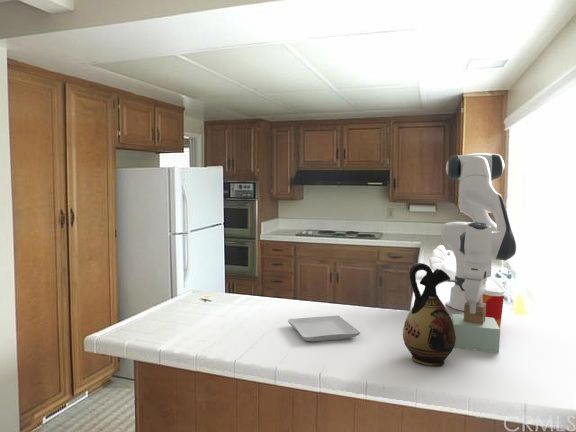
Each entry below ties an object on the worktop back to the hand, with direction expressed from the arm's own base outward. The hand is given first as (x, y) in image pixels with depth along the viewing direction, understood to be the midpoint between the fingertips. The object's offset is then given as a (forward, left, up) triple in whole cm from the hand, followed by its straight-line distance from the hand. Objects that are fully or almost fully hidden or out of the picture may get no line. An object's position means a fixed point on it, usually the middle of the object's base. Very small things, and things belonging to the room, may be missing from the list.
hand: (475, 309), depth 153 cm
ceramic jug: (+26, -10, -12) cm, 30 cm away
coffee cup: (-22, +3, -12) cm, 25 cm away
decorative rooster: (-112, -32, -12) cm, 118 cm away
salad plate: (+21, -48, -12) cm, 54 cm away
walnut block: (0, 0, -4) cm, 4 cm away
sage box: (0, 0, -12) cm, 12 cm away
